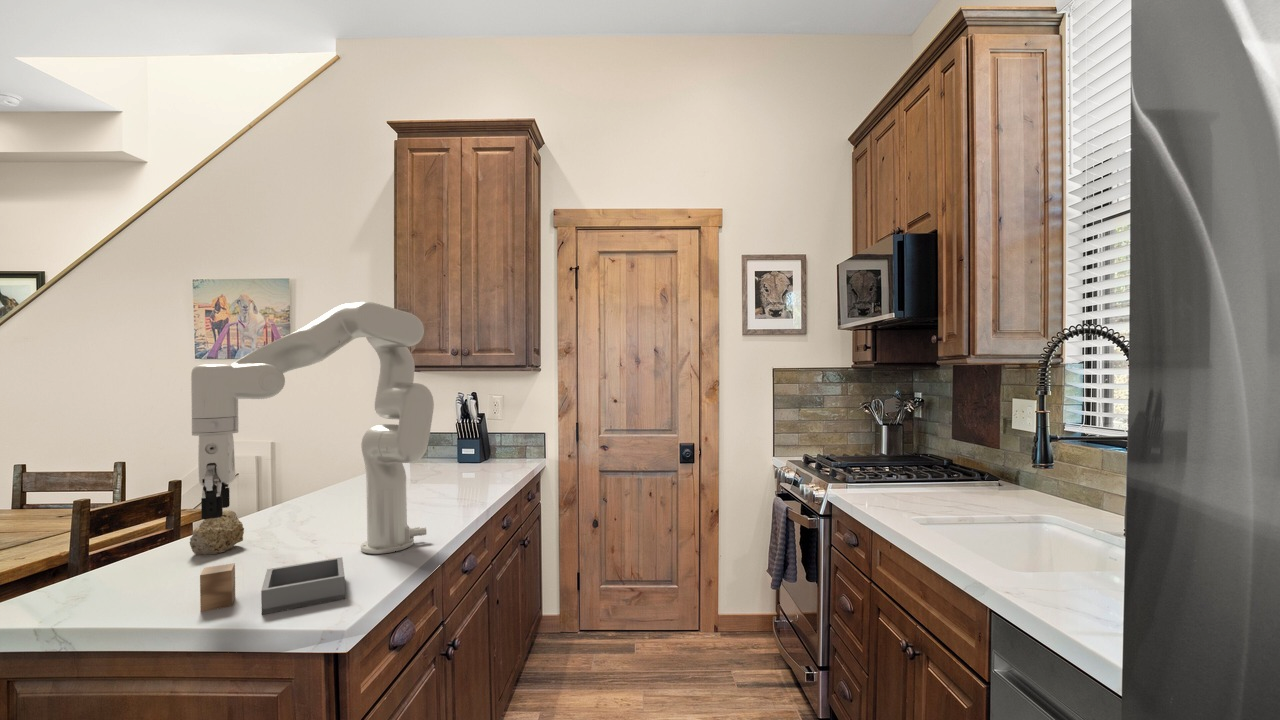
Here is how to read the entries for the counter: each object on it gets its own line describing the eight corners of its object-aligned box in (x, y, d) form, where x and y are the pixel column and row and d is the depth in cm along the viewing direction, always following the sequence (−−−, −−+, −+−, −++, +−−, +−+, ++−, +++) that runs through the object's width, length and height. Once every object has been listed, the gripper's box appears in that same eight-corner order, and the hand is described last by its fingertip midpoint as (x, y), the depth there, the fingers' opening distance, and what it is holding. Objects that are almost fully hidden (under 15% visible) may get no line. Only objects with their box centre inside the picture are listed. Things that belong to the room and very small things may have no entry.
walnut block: (235, 597, 118) (234, 563, 118) (232, 606, 114) (231, 570, 114) (205, 602, 116) (204, 567, 116) (200, 611, 112) (200, 575, 112)
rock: (256, 523, 154) (228, 502, 156) (211, 540, 142) (182, 518, 144) (241, 555, 156) (214, 535, 158) (196, 576, 144) (167, 553, 146)
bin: (342, 577, 128) (342, 557, 128) (345, 598, 116) (344, 576, 116) (267, 590, 121) (267, 569, 121) (261, 614, 109) (261, 590, 109)
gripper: (232, 428, 110) (233, 519, 109) (243, 422, 125) (244, 502, 124) (182, 431, 106) (183, 525, 106) (199, 424, 121) (200, 506, 121)
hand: (216, 512), depth 115 cm, fingers open, 9 cm apart
